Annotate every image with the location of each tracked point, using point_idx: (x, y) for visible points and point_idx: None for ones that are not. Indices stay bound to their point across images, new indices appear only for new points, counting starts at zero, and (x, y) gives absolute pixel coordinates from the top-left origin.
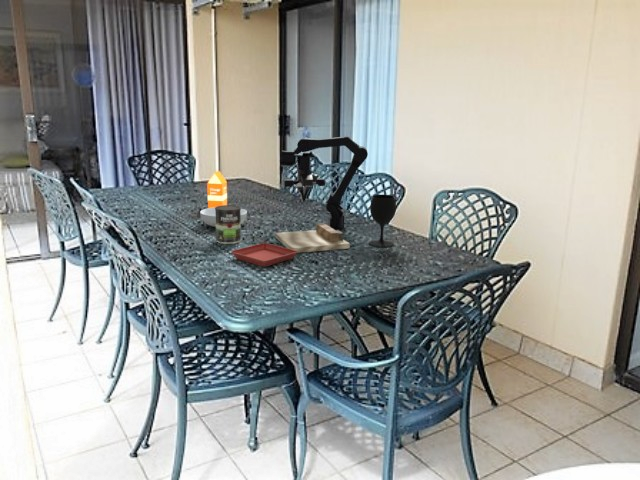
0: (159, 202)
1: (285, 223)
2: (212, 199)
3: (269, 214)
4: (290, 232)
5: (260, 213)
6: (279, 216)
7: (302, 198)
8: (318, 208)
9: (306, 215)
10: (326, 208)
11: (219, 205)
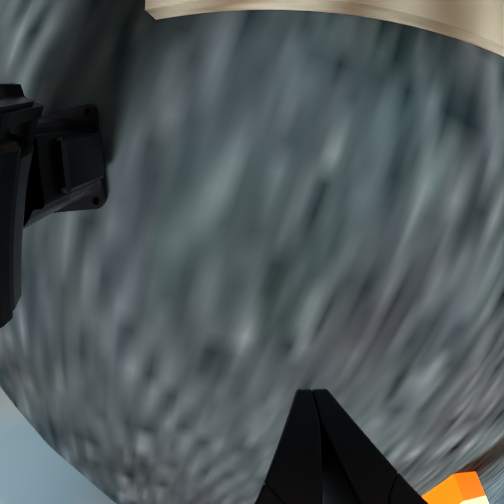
0: None
1: (354, 356)
2: (480, 499)
3: None
4: (459, 14)
5: None
6: None
7: (350, 422)
8: (128, 487)
9: (186, 450)
10: (26, 156)
11: (464, 489)
